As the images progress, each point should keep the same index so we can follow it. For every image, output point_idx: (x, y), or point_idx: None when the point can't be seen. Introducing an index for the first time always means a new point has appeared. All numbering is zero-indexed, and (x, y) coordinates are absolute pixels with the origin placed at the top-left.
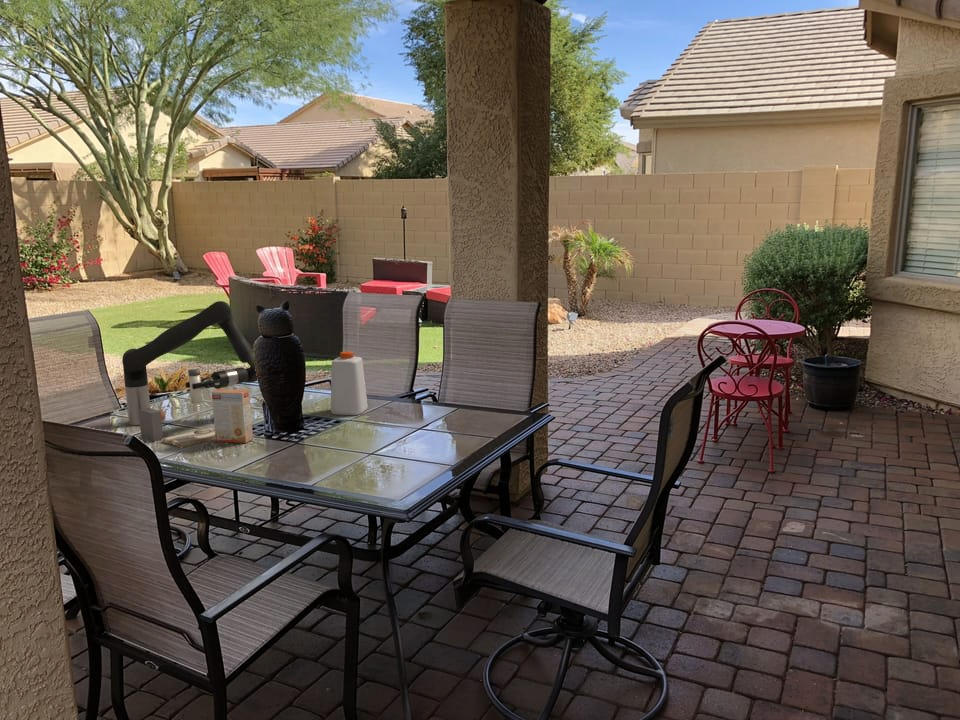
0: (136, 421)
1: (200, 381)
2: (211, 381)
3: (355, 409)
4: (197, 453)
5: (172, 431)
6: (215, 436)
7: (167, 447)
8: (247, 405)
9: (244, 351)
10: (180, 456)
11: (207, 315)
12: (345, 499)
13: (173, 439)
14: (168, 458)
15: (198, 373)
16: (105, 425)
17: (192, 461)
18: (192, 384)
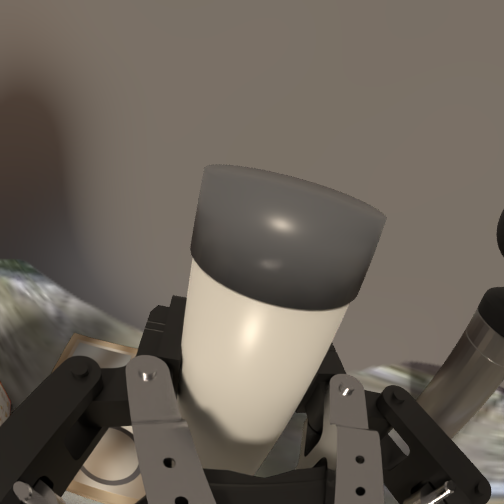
0: (418, 398)
1: (203, 377)
2: (37, 430)
3: None
4: (13, 317)
5: (275, 446)
6: (4, 390)
7: (118, 337)
8: None
9: None
10: (40, 299)
11: None
12: None
13: (129, 355)
14: (58, 289)
15: (195, 225)
16: (439, 368)
17: (3, 284)
18: (186, 298)
